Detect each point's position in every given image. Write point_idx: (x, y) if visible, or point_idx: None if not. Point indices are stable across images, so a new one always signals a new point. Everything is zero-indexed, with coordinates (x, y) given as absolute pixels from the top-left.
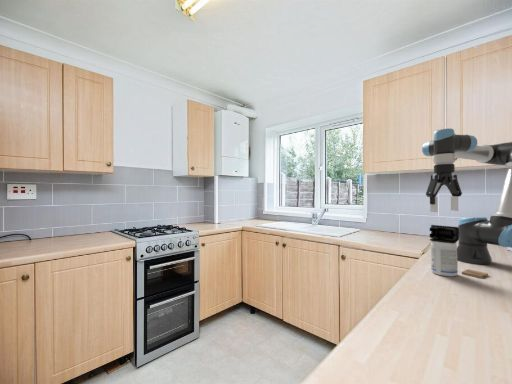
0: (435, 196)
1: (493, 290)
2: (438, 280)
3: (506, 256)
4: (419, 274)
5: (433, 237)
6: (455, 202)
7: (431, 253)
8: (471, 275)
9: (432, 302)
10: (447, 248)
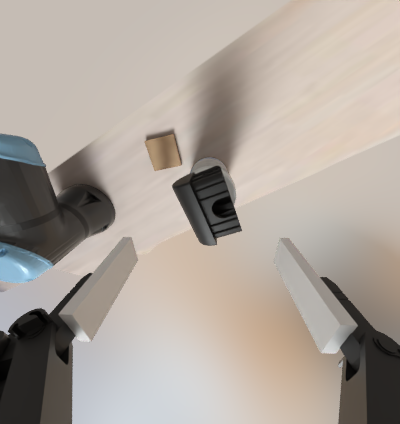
0: (368, 335)
1: (222, 77)
2: (255, 154)
3: None
4: (252, 187)
5: (234, 209)
6: (108, 278)
7: None
8: (177, 150)
9: (392, 72)
10: (226, 172)
